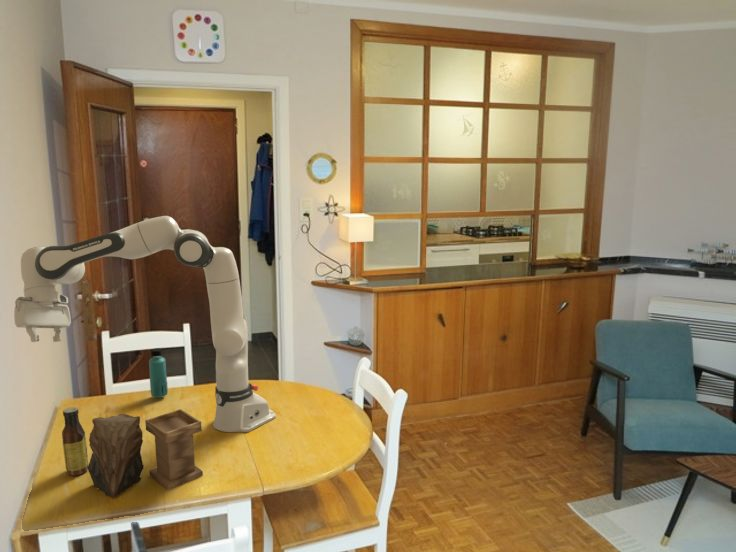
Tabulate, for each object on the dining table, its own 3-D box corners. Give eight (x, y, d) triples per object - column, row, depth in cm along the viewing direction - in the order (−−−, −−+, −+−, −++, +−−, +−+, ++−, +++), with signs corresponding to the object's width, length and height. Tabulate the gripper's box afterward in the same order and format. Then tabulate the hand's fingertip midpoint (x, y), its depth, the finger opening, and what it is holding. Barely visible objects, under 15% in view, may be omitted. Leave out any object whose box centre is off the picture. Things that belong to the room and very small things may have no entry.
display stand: (183, 461, 186) (180, 409, 182) (203, 476, 178) (201, 421, 174) (148, 474, 178) (145, 420, 175) (168, 490, 170) (165, 433, 166)
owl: (87, 484, 172) (81, 420, 168) (126, 466, 182) (122, 405, 178) (112, 499, 165) (106, 432, 161) (151, 480, 175) (147, 416, 171)
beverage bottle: (162, 401, 230) (159, 352, 227) (147, 400, 232) (144, 351, 228) (171, 395, 237) (168, 347, 233) (156, 393, 238) (153, 346, 234)
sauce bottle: (93, 470, 180) (88, 408, 176) (73, 479, 175) (68, 416, 171) (80, 463, 184) (75, 403, 180) (61, 472, 179) (55, 410, 175)
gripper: (24, 293, 176) (30, 339, 174) (71, 298, 196) (77, 339, 194) (6, 298, 177) (11, 344, 175) (55, 302, 197) (60, 343, 195)
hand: (46, 341), depth 185 cm, fingers open, 8 cm apart
